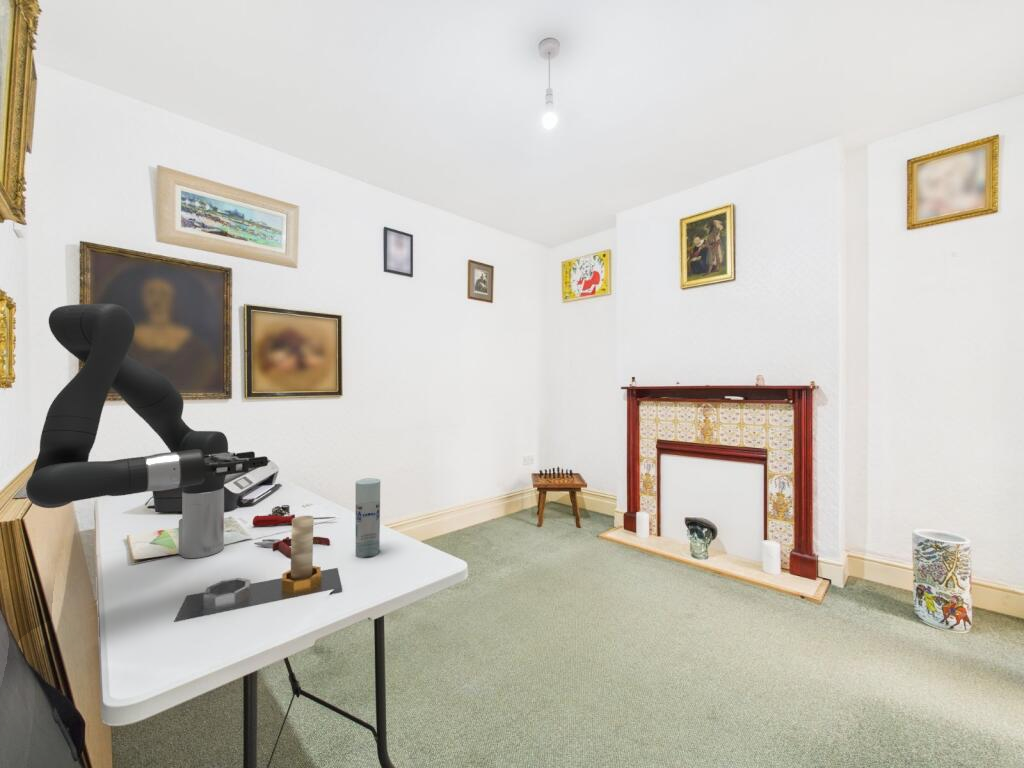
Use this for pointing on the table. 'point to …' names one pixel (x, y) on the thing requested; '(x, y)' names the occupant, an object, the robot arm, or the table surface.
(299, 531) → the peg
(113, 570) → the table surface
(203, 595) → the grey board
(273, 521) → the screwdriver
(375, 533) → the spray paint can
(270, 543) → the pliers
